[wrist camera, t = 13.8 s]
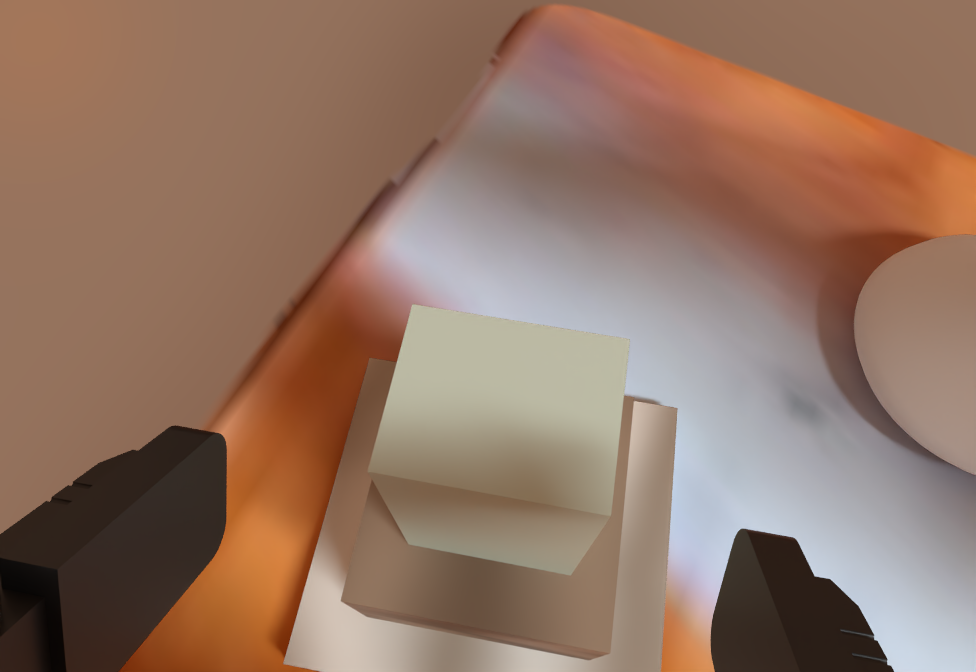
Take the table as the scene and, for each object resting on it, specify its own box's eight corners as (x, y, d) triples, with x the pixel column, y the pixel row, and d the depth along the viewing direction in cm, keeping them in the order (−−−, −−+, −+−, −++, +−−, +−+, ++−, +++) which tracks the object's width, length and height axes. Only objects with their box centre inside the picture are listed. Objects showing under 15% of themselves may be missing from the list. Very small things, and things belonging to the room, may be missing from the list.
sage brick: (586, 449, 23) (629, 339, 16) (570, 575, 21) (611, 516, 14) (436, 422, 23) (412, 304, 16) (408, 544, 22) (367, 471, 14)
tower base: (671, 416, 30) (711, 356, 24) (650, 738, 24) (695, 750, 19) (373, 367, 31) (348, 299, 25) (290, 664, 26) (237, 657, 20)
